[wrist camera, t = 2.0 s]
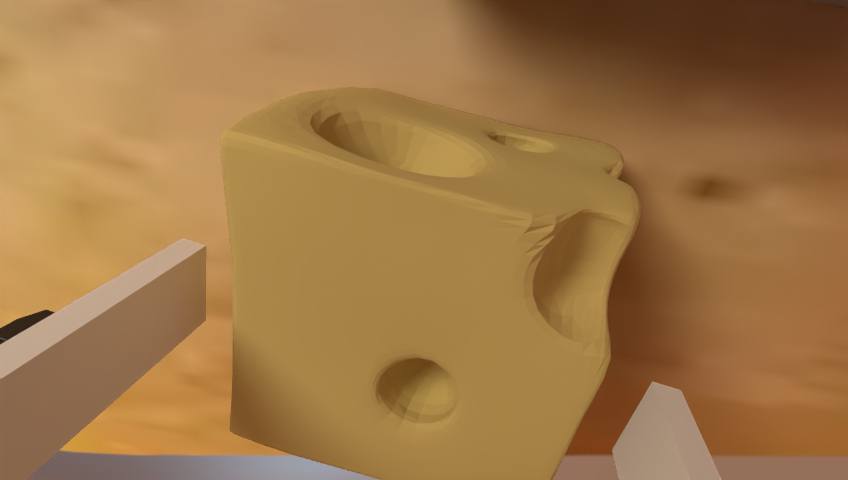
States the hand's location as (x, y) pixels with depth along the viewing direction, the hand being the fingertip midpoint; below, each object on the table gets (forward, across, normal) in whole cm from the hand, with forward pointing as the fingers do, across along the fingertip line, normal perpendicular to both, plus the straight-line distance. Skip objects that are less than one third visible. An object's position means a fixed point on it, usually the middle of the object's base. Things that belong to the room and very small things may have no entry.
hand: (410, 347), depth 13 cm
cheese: (+9, 0, 0) cm, 9 cm away
